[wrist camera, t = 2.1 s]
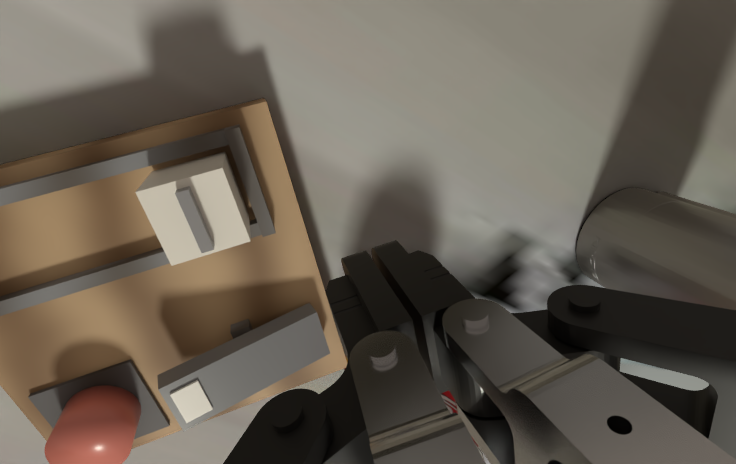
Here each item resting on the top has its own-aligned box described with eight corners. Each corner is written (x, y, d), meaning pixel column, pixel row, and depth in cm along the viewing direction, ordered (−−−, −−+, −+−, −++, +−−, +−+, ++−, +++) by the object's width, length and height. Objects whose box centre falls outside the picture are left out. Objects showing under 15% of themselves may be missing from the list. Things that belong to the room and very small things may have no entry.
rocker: (309, 302, 28) (317, 313, 27) (322, 342, 29) (331, 354, 28) (157, 375, 24) (158, 391, 23) (181, 416, 26) (183, 433, 25)
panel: (264, 97, 25) (267, 103, 22) (341, 346, 34) (352, 377, 30) (-108, 192, 22) (-171, 215, 18) (84, 441, 30) (65, 487, 27)
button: (122, 375, 26) (110, 408, 24) (152, 422, 28) (144, 457, 25) (49, 401, 25) (28, 438, 23) (84, 447, 27) (69, 486, 25)
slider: (225, 151, 23) (222, 170, 19) (249, 215, 25) (250, 245, 21) (151, 171, 22) (132, 196, 18) (181, 235, 24) (169, 271, 20)
